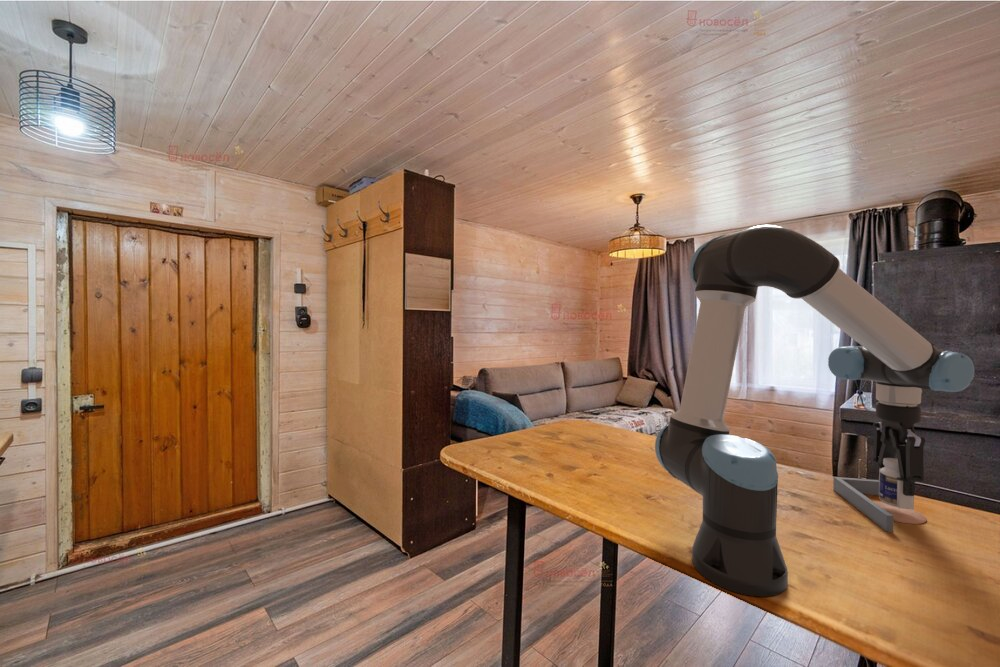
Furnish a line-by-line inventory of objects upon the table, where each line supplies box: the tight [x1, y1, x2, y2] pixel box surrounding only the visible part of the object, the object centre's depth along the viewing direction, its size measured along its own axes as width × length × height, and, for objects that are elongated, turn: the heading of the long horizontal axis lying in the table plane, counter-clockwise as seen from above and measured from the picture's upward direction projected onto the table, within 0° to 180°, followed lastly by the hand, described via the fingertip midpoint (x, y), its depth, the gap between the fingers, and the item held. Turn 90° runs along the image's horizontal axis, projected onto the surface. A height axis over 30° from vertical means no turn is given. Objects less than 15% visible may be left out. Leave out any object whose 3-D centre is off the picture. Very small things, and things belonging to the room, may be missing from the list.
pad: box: [874, 501, 927, 525], centre depth 96 cm, size 10×10×1 cm
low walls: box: [832, 476, 894, 533], centre depth 97 cm, size 22×10×4 cm, turn 165°
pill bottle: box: [878, 458, 901, 507], centre depth 95 cm, size 6×6×10 cm
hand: (895, 501), depth 96 cm, fingers closed on pill bottle, 6 cm apart
